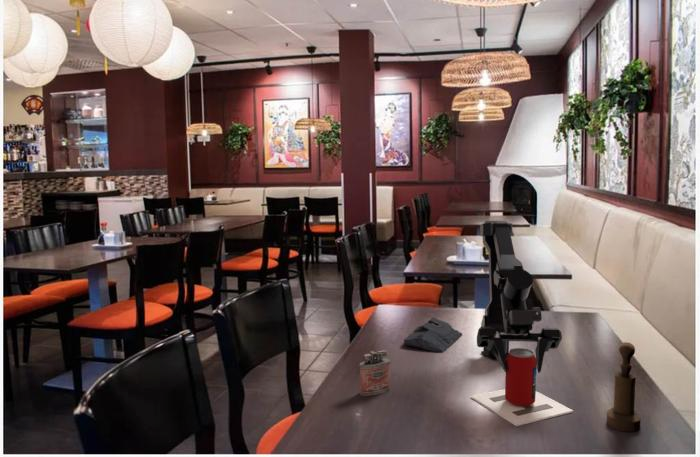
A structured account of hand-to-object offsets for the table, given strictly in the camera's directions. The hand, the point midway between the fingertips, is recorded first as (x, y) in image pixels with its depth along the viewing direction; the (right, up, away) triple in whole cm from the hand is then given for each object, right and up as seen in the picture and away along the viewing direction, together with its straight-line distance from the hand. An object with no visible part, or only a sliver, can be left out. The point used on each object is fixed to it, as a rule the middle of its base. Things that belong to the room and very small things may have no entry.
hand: (522, 371), depth 130 cm
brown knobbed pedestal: (+19, -10, -8) cm, 23 cm away
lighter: (-33, -8, +11) cm, 35 cm away
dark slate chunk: (-14, -3, +50) cm, 52 cm away
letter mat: (0, -8, +2) cm, 8 cm away
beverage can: (0, -8, +3) cm, 8 cm away
